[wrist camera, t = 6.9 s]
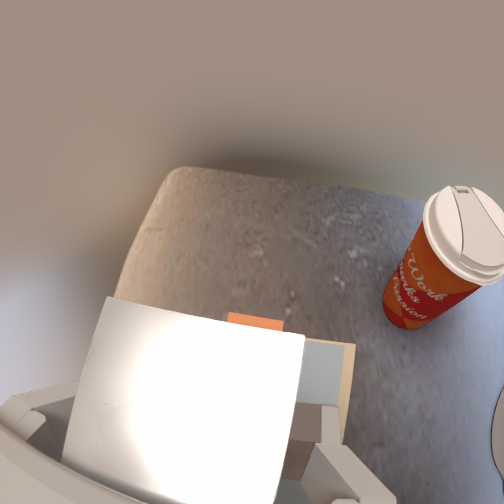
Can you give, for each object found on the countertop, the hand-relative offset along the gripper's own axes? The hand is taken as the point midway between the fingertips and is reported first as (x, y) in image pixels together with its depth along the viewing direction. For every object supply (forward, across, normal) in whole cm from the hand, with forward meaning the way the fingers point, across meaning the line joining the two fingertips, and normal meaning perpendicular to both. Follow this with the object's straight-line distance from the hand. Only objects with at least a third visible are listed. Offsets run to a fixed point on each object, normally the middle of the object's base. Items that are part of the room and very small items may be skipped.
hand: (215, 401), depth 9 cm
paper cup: (+22, -14, +5) cm, 26 cm away
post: (+10, 0, +11) cm, 15 cm away
